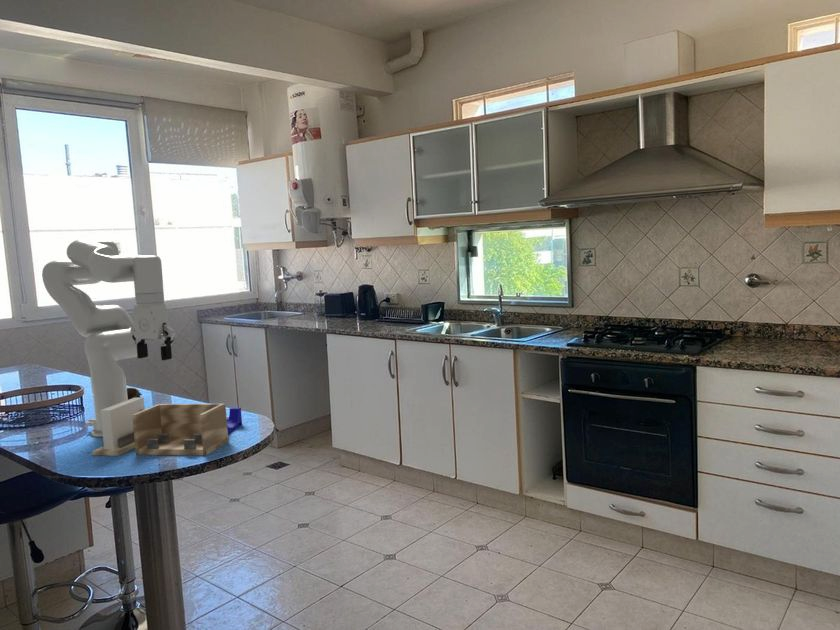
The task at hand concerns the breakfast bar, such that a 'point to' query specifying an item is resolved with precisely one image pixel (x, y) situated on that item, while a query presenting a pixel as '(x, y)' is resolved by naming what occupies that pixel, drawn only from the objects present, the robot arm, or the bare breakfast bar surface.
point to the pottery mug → (133, 393)
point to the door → (119, 421)
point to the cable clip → (234, 419)
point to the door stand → (124, 446)
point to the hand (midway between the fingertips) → (154, 358)
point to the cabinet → (180, 429)
